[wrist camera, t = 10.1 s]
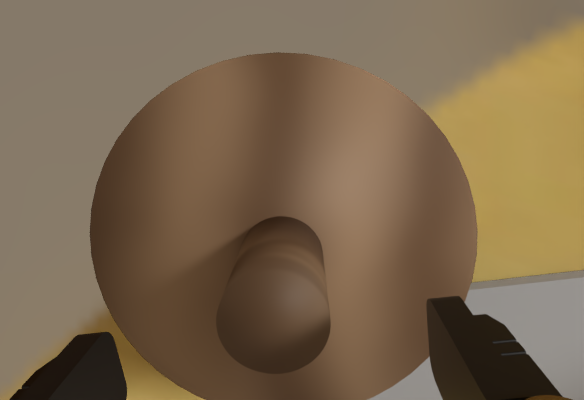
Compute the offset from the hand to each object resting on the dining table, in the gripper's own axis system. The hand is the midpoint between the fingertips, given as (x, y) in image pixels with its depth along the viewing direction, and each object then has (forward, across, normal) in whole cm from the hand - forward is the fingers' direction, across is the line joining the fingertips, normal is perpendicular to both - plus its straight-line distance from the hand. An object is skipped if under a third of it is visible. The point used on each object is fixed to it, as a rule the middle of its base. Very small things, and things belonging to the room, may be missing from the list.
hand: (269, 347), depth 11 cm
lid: (+7, 0, 0) cm, 7 cm away
